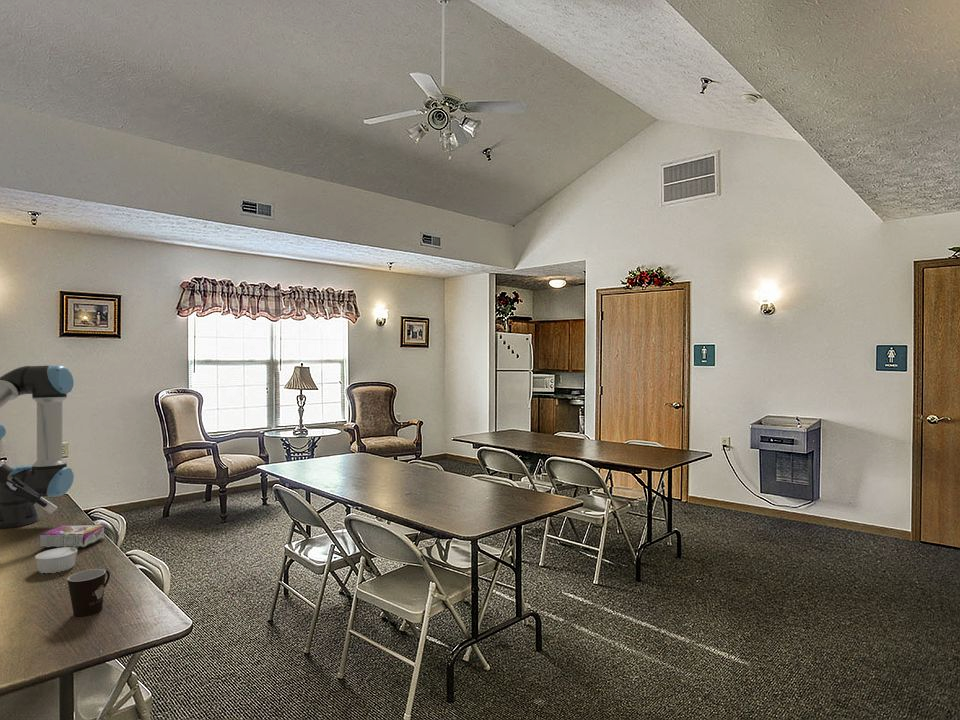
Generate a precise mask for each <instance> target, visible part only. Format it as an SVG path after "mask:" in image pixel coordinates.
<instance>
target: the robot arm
mask: <svg viewBox="0 0 960 720" xmlns="http://www.w3.org/2000/svg"><path fill="white" fill-rule="evenodd" d="M72 374H73V373H71V371H70V370H69V369H68V368H67V367H65V366H63V365H54V364H53V365H27V366H26V365H23V366H20V367H17V368H15V369H12V370H10V371H8V372H6V373H5V374H3V375H2V376H0V409H1V408H3V407H4V406H5V405H6V404H7V403H8V402H9V401H14V400H15V399H18V397H19V396H24V395H31V399H32V400H34V401H35V402H36V461H35V462H34V463H32V464H24V465H18V466H12V467H10V466H9V465H8V464H5V463H3V461H2V460H0V529H8V528H9V529H10V528H16V527H18V528H19V527H23V526H26V525H27V526H28V525H30V524H34V523H35V522H38V521H39V520H40V514H39V511H38V510H37V507H40V508H41V509H43V510H44V511H46V512H48V513H49V514H50V515H51V514H53V513H54V511H56V510H57V509H58V506H57V505H55V504H53V503H52V502H51V501H49V500H47V499H45V497H46V498H47V497H48V498H53V497H61V496H63V495H65V494H66V493H68V492H69V491H70V489H71V487H72V485H73V483H74V478H75V475H74V474H75V473H74V471H73V469H72V468H71V467H69V466H67V465H68V464H67V461H65V460H64V459H63V401H64V400H66V399H67V397H68V396H67V395H68V394H69V393H71V392H72V391H73V388H74V385H75V384H74V377H73V375H72ZM6 434H7V430H6V428H5V426H4V424H2V423H0V441H1V440H2V439H3V438H4V437H5V436H6ZM36 505H37V507H36Z"/></svg>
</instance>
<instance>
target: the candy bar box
mask: <svg viewBox="0 0 960 720" xmlns="http://www.w3.org/2000/svg"><path fill="white" fill-rule="evenodd" d="M104 538H105V525H104V524H103V525H100V524H99V525H95V524H94V525H93V524H92V525H91V524H89V525H85V524H84V525H60V526H58V527H55V528H53V529H50V530H48V531H46V532H44V533H40V534H39V548H63V547H81V548H85V547H86V546H89V545H92V544H94V543H96V542H99V541H100V540H102V539H104Z"/></svg>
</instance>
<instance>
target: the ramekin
mask: <svg viewBox="0 0 960 720" xmlns="http://www.w3.org/2000/svg"><path fill="white" fill-rule="evenodd" d="M77 555H78V548H72V547H55V548H52V549H47V550H45V551H44V550H43V551H42V552H39V553H37V554H35V555H34V560H35V562H36V563H35V564H36V567H37V568H36V569H37V571H38V572H39V573H40V574H43V573H46V575H48V574H47V573H52V574H56V572H58V573H61V571H62V572H65V571H68V570H70V569H72V568H73V567H74V566H75V564H76V559H77Z"/></svg>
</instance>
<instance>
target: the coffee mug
mask: <svg viewBox="0 0 960 720" xmlns="http://www.w3.org/2000/svg"><path fill="white" fill-rule="evenodd" d="M106 576H107V577H106ZM66 579H67V585H68V590H69V596H70V601H71V607H72V611H73V613H72V614H73V616H74V617H75V618H87V617H90V616H91V617H92V616H94V615H96V614H99V613H101V612H102V610H103V604H104V603H103V602H104V594H105V588H106V587H107V585H108V583H109V581H110V579H111V573H110V571H109V570H106V569H102V568H93V569H92V568H91V569H86V570H85V569H84V570H81V571H78V572H75V573H73V574H71V575H69V576H68V577H67V578H66Z"/></svg>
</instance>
